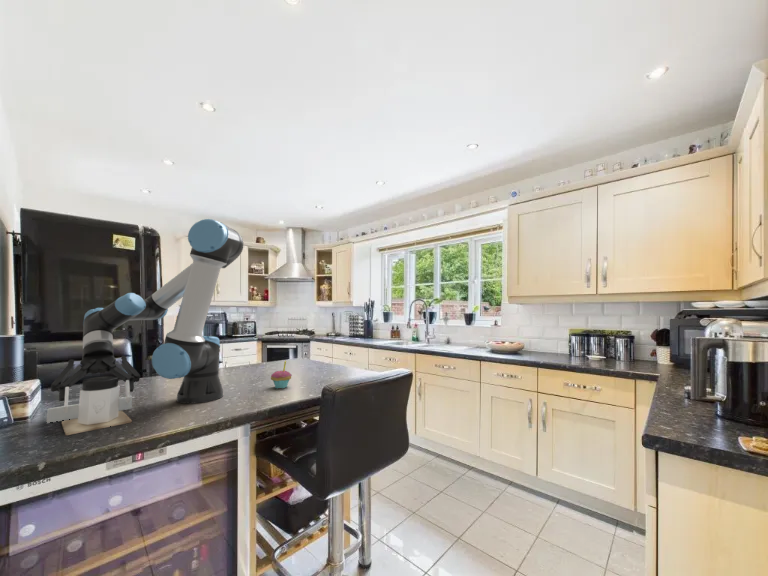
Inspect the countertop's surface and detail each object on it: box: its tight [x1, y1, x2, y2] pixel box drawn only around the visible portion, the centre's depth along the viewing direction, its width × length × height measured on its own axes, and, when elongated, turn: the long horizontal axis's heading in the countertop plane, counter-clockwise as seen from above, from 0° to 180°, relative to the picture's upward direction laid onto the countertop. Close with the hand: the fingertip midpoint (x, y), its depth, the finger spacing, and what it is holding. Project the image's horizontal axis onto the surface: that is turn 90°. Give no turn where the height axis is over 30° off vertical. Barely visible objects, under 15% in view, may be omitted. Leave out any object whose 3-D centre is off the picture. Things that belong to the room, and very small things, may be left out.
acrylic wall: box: [46, 395, 133, 424], centre depth 104 cm, size 20×1×4 cm, turn 138°
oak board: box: [61, 410, 133, 436], centre depth 97 cm, size 14×14×1 cm
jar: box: [78, 375, 121, 425], centre depth 97 cm, size 9×8×12 cm
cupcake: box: [270, 359, 293, 389], centre depth 142 cm, size 9×8×12 cm
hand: (98, 404), depth 95 cm, fingers open, 13 cm apart
